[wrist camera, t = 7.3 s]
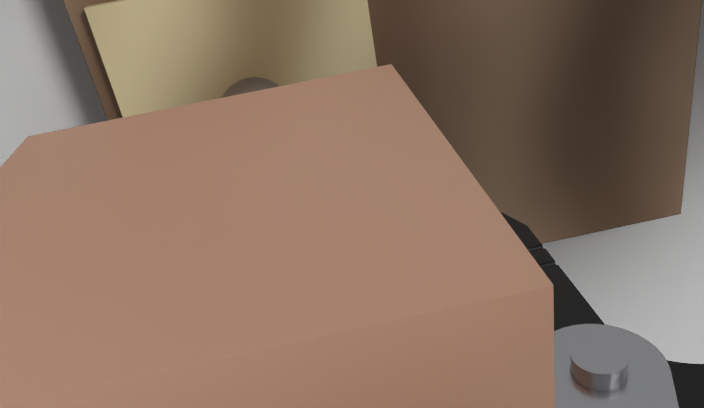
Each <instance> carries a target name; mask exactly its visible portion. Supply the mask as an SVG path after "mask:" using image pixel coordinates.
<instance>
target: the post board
mask: <svg viewBox="0 0 704 408" xmlns="http://www.w3.org/2000/svg"><path fill="white" fill-rule="evenodd" d="M63 1H64V3H65V6H66V9H67V12H68V14H69V17H70V20H71V22H72V25H73V28H74V31H75V33H76V36H77V39H78V41H79V44H80V47H81V49H82V52H83V55H84V58H85V60H86V63H87V66H88V68H89V71H90V74H91V77H92V79H93V82H94V85H95V87H96V90H97V93H98V95H99V98H100V101H101V104H102V106H103V109H104V112H105V114H106V117H107V120H113V119H118V118H123V117H128V116H133V115H138V114H143V113H148V112H153V111H158V110H163V109H168V108H173V107H178V106H183V105H188V104H193V103H198V102H203V101H208V100H213V99H218V98H223V97H228V96H233V95H238V94H244V93H249V92H254V91H259V90H264V89H269V88H274V87H279V86H284V85H289V84H294V83H299V82H304V81H309V80H314V79H319V78H324V77H329V76H334V75H339V74H344V73H349V72H354V71H359V70H364V69H369V68H374V67H379V66H384V65H389V64H392V66H393V67H394V68H395V70H396V71H397V72H398V74H399V75H400V76H401V78H402V79H403V81H404V82H405V83H406V85H407V86H408V87H409V89H410V90H411V91H412V93H413V94H414V96H415V97H416V98H417V100H418V101H419V102H420V104H421V105H422V106H423V108H424V109H425V111H426V112H427V113H428V115H429V116H430V117H431V119H432V120H433V121H434V123H435V124H436V126H437V127H438V128H439V130H440V131H441V132H442V134H443V135H444V136H445V138H446V139H447V141H448V142H449V143H450V145H451V146H452V147H453V149H454V150H455V151H456V153H457V154H458V156H459V157H460V158H461V160H462V161H463V162H464V164H465V165H466V166H467V168H468V169H469V171H470V172H471V173H472V175H473V176H474V177H475V179H476V180H477V181H478V183H479V184H480V186H481V187H482V188H483V190H484V191H485V192H486V194H487V195H488V196H489V198H490V199H491V201H492V202H493V203H494V205H495V206H496V207H497V209H498V210H499V211H500V212H502V213H504V214H506V215H508V216H510V217H512V218H514V219H516V220H518V221H519V222H521V223H523V224H525V225H527V226H528V227H529V229H530V230H531V231H532V232H533V234H534V235H535V236H536V237H537V239H538V240H539V241H540V243H541V244H542V243H547V242H551V241H556V240H561V239H565V238H570V237H575V236H579V235H584V234H589V233H593V232H598V231H603V230H607V229H612V228H617V227H621V226H626V225H631V224H636V223H640V222H645V221H650V220H654V219H659V218H664V217H668V216H673V215H678V214H681V206H682V196H683V186H684V176H685V166H686V155H687V145H688V135H689V125H690V115H691V105H692V95H693V85H694V75H695V65H696V55H697V45H698V35H699V25H700V15H701V5H702V0H63Z"/></svg>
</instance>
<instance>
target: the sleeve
mask: <svg viewBox="0 0 704 408" xmlns="http://www.w3.org/2000/svg"><path fill="white" fill-rule="evenodd" d="M0 408H555V382H554V289H553V284H552V282H551V281H550V280H549V278H548V277H547V276H546V274H545V273H544V271H543V270H542V269H541V267H540V266H539V265H538V263H537V262H536V261H535V259H534V258H533V256H532V255H531V254H530V252H529V251H528V250H527V248H526V247H525V246H524V244H523V243H522V241H521V240H520V239H519V237H518V236H517V235H516V233H515V232H514V231H513V229H512V228H511V226H510V225H509V224H508V222H507V221H506V220H505V218H504V217H503V216H502V214H501V213H500V211H499V210H498V209H497V207H496V206H495V205H494V203H493V202H492V201H491V199H490V198H489V196H488V195H487V194H486V192H485V191H484V190H483V188H482V187H481V186H480V184H479V183H478V181H477V180H476V179H475V177H474V176H473V175H472V173H471V172H470V171H469V169H468V168H467V166H466V165H465V164H464V162H463V161H462V160H461V158H460V157H459V156H458V154H457V153H456V151H455V150H454V149H453V147H452V146H451V145H450V143H449V142H448V141H447V139H446V138H445V136H444V135H443V134H442V132H441V131H440V130H439V128H438V127H437V126H436V124H435V123H434V121H433V120H432V119H431V117H430V116H429V115H428V113H427V112H426V111H425V109H424V108H423V106H422V105H421V104H420V102H419V101H418V100H417V98H416V97H415V96H414V94H413V93H412V91H411V90H410V89H409V87H408V86H407V85H406V83H405V82H404V81H403V79H402V78H401V76H400V75H399V74H398V72H397V71H396V70H395V68H394V67H393V66H392V64H389V65H384V66H379V67H374V68H369V69H364V70H359V71H354V72H349V73H344V74H339V75H334V76H329V77H324V78H319V79H314V80H309V81H304V82H299V83H294V84H289V85H284V86H279V87H274V88H269V89H264V90H259V91H254V92H249V93H244V94H238V95H233V96H228V97H223V98H218V99H213V100H208V101H203V102H198V103H193V104H188V105H183V106H178V107H173V108H168V109H163V110H158V111H153V112H148V113H143V114H138V115H133V116H128V117H123V118H118V119H113V120H108V121H103V122H98V123H93V124H88V125H83V126H78V127H73V128H68V129H63V130H58V131H53V132H48V133H43V134H38V135H33V136H28V137H27V138H26V139H25V140H24V141H23V142H22V143H21V145H20V146H19V147H18V148H17V149H16V150H15V151H14V153H13V154H12V155H11V156H10V157H9V158H8V159H7V161H6V162H5V163H4V164H3V165H2V166H1V167H0Z"/></svg>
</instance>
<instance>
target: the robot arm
mask: <svg viewBox="0 0 704 408" xmlns="http://www.w3.org/2000/svg"><path fill="white" fill-rule="evenodd" d="M500 213H501V214H502V216H503V217H504V218H505V220H506V221H507V222H508V224H509V225H510V226H511V228H512V229H513V231H514V232H515V233H516V235H517V236H518V237H519V239H520V240H521V241H522V243H523V244H524V246H525V247H526V248H527V250H528V251H529V252H530V254H531V255H532V256H533V258H534V259H535V261H536V262H537V263H538V265H539V266H540V267H541V269H542V270H543V271H544V273H545V274H546V276H547V277H548V278H549V280H550V281H551V282H552V284H553V289H554V382H555V408H704V364H688V363H679V362H673V361H667V360H666V359H665V357H664V355H663V354H662V353H661V352H660V351H659V350H658V349H657V348H656V347H655V346H654V345H653V344H651V343H650V342H649V341H647V340H646V339H644V338H642V337H641V336H639V335H637V334H635V333H632V332H630V331H628V330H625V329H622V328H618V327H614V326H609V325H605V324H604V323H603V322H602V320H601V319H600V318H599V317H598V315H597V314H596V313H595V311H594V310H593V309H592V308H591V306H590V305H589V304H588V303H587V301H586V300H585V299H584V297H583V296H582V295H581V294H580V292H579V291H578V290H577V289H576V287H575V286H574V285H573V283H572V282H571V281H570V280H569V278H568V277H567V276H566V274H565V273H564V272H563V271H562V269H561V268H560V267H559V266H558V265H556V264H555V260H554V259H553V258H552V257H551V255H550V254H549V253H548V251H547V250H546V249H543V247H542V244H541V243H540V241H539V240H538V239H537V237H536V236H535V235H534V234H533V232H532V231H531V230H530V229H529V227H528V226H527V225H525V224H523V223H521V222H519V221H518V220H516V219H514V218H512V217H510V216H508V215H506V214H504V213H502V212H500Z"/></svg>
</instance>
